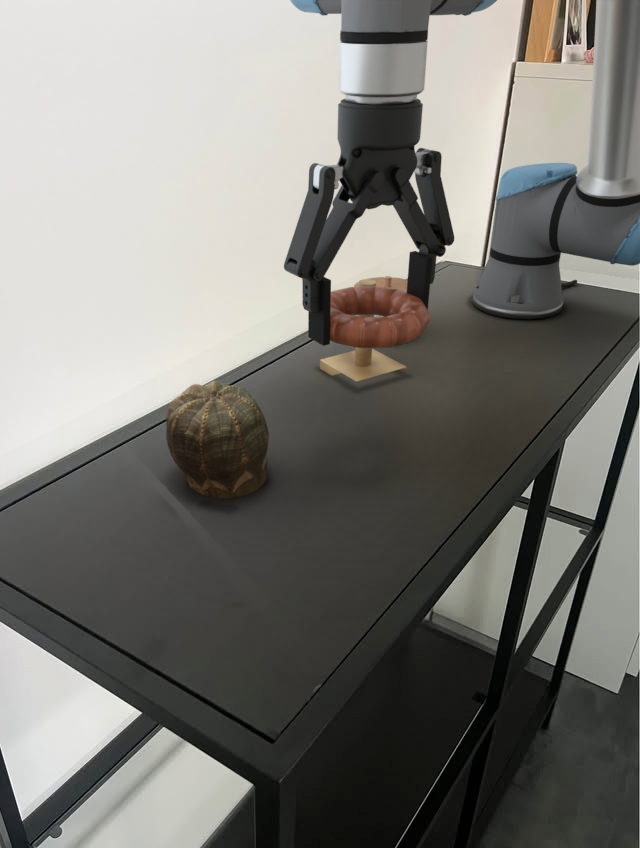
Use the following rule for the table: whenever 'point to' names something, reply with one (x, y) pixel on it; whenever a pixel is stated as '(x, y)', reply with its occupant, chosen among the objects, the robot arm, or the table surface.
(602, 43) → the robot arm
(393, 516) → the table surface
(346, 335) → the ring
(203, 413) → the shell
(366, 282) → the stand
